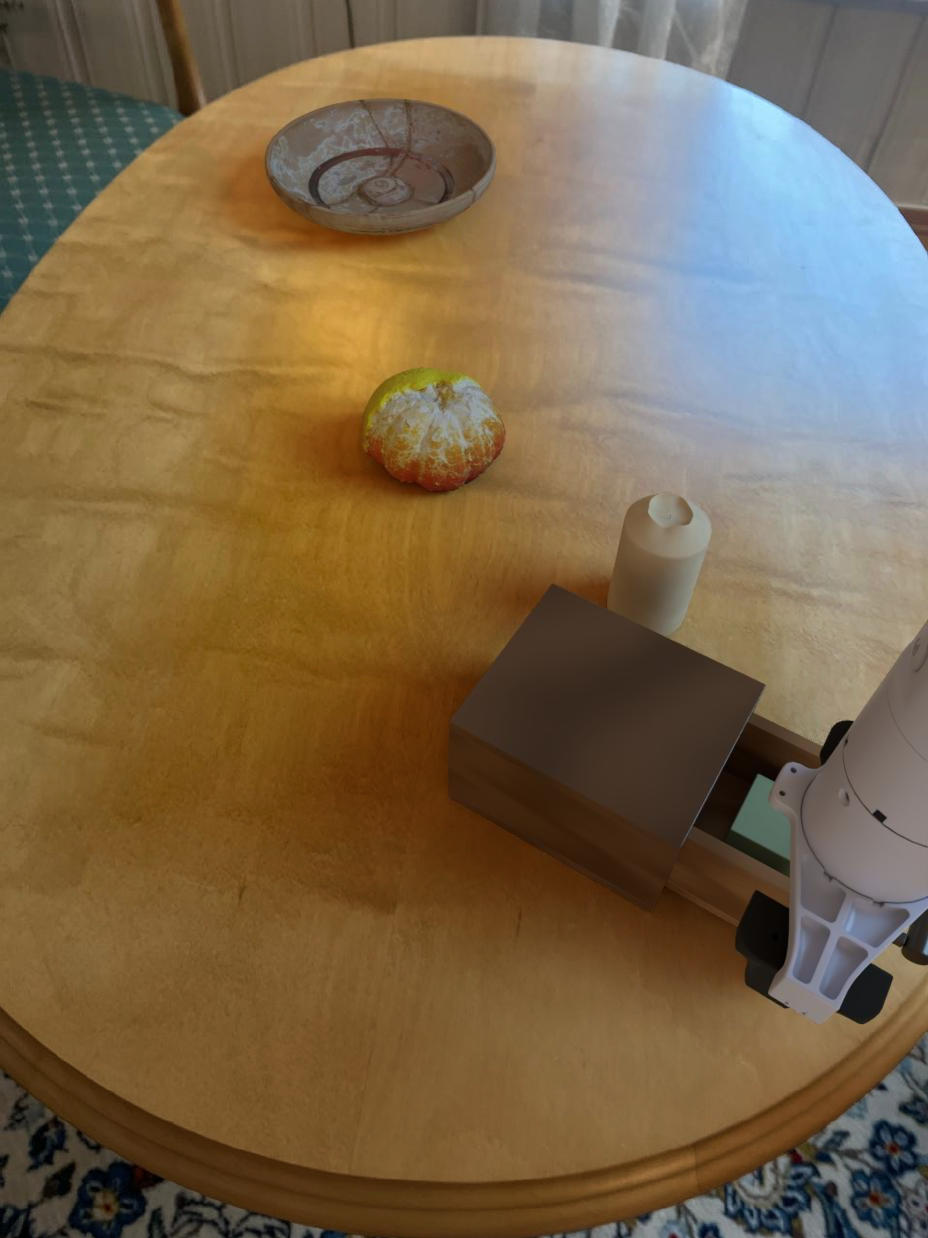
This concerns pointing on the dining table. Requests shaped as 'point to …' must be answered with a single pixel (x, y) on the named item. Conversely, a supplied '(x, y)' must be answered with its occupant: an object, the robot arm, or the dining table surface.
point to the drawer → (729, 874)
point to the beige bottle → (658, 561)
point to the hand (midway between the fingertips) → (799, 917)
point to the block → (761, 828)
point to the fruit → (432, 428)
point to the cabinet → (598, 741)
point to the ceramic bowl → (380, 165)
